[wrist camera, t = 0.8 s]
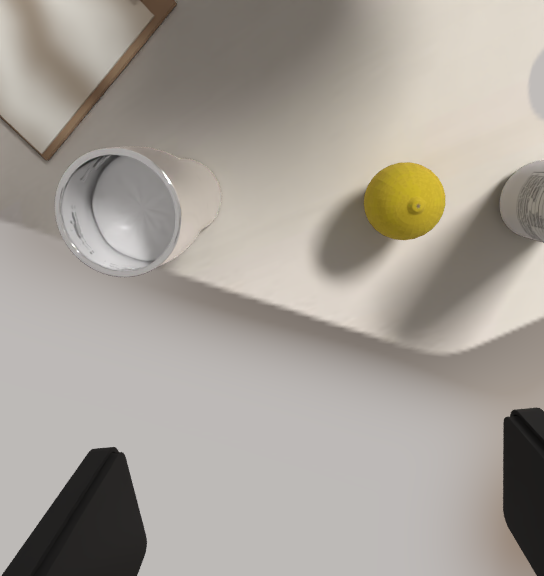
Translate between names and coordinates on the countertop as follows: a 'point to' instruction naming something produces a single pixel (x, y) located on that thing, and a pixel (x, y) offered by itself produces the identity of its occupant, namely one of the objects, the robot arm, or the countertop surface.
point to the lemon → (404, 201)
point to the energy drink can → (525, 201)
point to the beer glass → (133, 208)
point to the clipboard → (66, 60)
